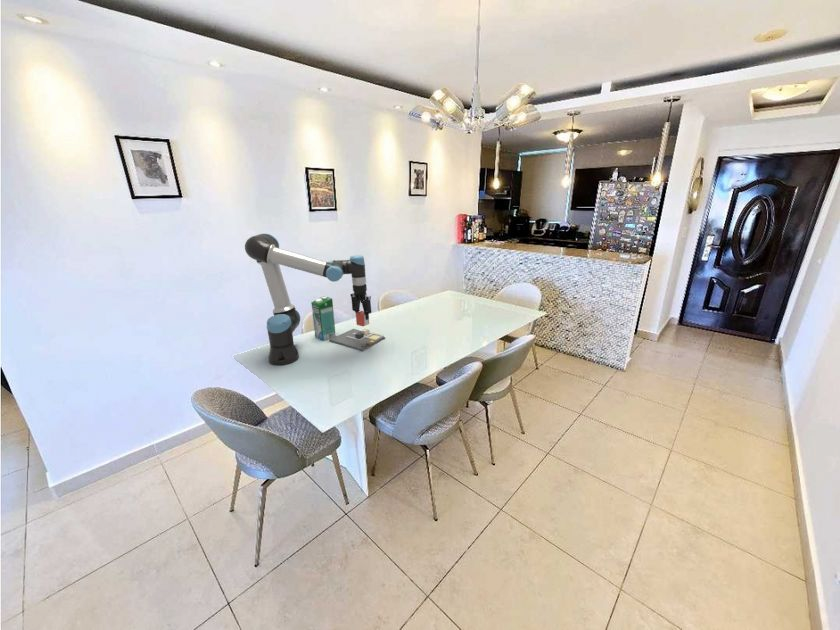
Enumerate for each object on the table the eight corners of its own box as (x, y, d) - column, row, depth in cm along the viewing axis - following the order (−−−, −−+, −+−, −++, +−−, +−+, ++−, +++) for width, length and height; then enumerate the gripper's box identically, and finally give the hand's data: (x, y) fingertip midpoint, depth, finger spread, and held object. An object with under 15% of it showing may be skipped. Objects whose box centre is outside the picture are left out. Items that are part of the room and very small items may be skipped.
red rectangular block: (356, 324, 193) (355, 313, 191) (362, 322, 197) (361, 310, 194) (363, 326, 190) (362, 314, 188) (369, 323, 194) (368, 312, 192)
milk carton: (315, 337, 210) (310, 298, 202) (327, 333, 217) (324, 295, 208) (323, 341, 204) (318, 301, 196) (335, 336, 211) (332, 298, 203)
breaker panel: (329, 341, 204) (328, 334, 203) (353, 330, 221) (352, 323, 219) (361, 351, 191) (361, 343, 189) (385, 338, 208) (384, 331, 206)
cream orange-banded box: (361, 335, 209) (361, 330, 207) (366, 333, 212) (365, 328, 211) (365, 336, 207) (365, 331, 206) (369, 334, 210) (369, 329, 209)
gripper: (342, 283, 188) (346, 323, 195) (366, 287, 178) (370, 328, 186) (352, 280, 193) (356, 319, 201) (376, 284, 184) (379, 324, 191)
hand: (362, 323), depth 193 cm, fingers closed on red rectangular block, 5 cm apart
